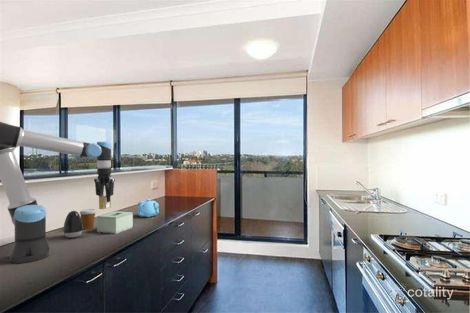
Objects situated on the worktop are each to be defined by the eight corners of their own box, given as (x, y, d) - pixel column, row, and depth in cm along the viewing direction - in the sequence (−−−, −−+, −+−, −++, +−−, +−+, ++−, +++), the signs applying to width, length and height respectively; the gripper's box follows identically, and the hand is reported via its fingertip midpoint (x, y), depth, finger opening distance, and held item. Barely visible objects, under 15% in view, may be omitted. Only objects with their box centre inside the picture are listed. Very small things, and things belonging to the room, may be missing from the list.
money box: (116, 233, 167) (115, 217, 167) (97, 232, 171) (97, 216, 171) (132, 227, 182) (132, 212, 182) (115, 226, 186) (115, 211, 186)
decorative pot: (159, 217, 213) (159, 200, 213) (137, 219, 208) (137, 201, 208) (157, 213, 228) (157, 197, 229) (137, 214, 223) (137, 198, 223)
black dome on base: (60, 240, 155) (60, 213, 155) (66, 235, 165) (66, 209, 165) (80, 238, 157) (80, 212, 158) (85, 233, 167) (85, 208, 168)
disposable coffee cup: (94, 229, 177) (94, 211, 177) (77, 230, 174) (77, 211, 175) (97, 226, 186) (97, 208, 186) (81, 227, 184) (81, 209, 184)
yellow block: (103, 209, 159) (103, 197, 159) (99, 208, 160) (98, 197, 160) (110, 207, 165) (110, 195, 165) (106, 206, 166) (106, 195, 166)
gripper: (119, 167, 164) (120, 206, 164) (98, 167, 168) (98, 205, 169) (110, 168, 157) (111, 209, 157) (88, 168, 161) (88, 207, 161)
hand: (104, 207), depth 163 cm, fingers closed on yellow block, 3 cm apart
